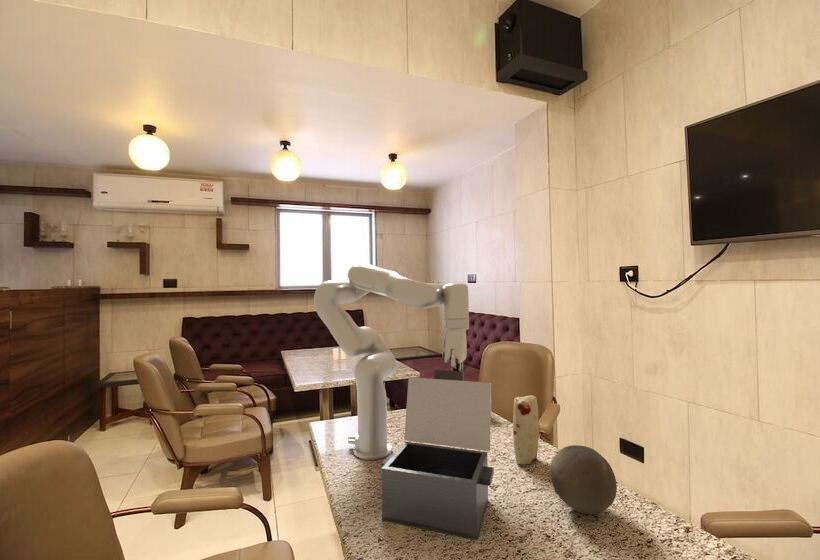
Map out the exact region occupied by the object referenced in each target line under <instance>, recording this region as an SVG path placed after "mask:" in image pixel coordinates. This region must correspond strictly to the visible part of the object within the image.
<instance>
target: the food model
mask: <svg viewBox="0 0 820 560" xmlns="http://www.w3.org/2000/svg"><path fill="white" fill-rule="evenodd" d="M512 413H513V417H512V435H513V436H512V438H513V449H514V456H515V458H514V459H515V461H516V463H517V464H518V465H529V464H532V463H534V462H536V461H537V458H538V449H539V439H540V438H539V437H540V423H539V422H540V421H539V419H540V418H539V407H538V400H537V397H536V396H535V395H531V394H530V395H525V396H515V397H514V398H513V411H512Z"/></svg>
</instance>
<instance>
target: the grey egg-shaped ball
mask: <svg viewBox="0 0 820 560" xmlns="http://www.w3.org/2000/svg"><path fill="white" fill-rule="evenodd" d="M549 471H550V472H549V475H550V481H551V484H552V486H553V488H554V489H553V490H554V491H555V493H556V495H557V496H558V497H559V498H560V499H561V501H562V502H563V503H564V504H565V505H567V506H568V507H569V508H571V509H573V510H574V511H575V512H577V513H581V514H589V515H595V514H596V515H597V514H599V513H603V512H604V511H606V510H607V509H609V508H610V507H611V506H612V505H613V503H614V502H615V499H616V497H617V492H618V491H617V488H618V487H617V486H618V485H617V480H616V476H615V475H616V474H615V473H614V470H613V468H612V466H611V465H610V463H609V462H608V461H607V459H606V458H605V457H603V456H602V454H600V452H598V451H596V449H593V448H591V447H588V446H585V445H579V444H578V445H575V444H574V445H568V446H564V447H563V448H561V449H560V450H559V451H558V452H557V453H556V454H555V455H554V457H553V458H552V460H551V463H550V468H549Z"/></svg>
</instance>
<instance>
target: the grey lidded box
mask: <svg viewBox="0 0 820 560" xmlns="http://www.w3.org/2000/svg"><path fill="white" fill-rule="evenodd" d="M380 468H381V469H380V471H381V520H382V521H383V522H388V523H393V524H397V525H401V526H407V527H411V528H416V529H421V530H427V531H430V532H434V533H435V532H436V533H440V534H445V535H449V536H455V537H460V538H464V539H468V540H472V541H473V540H474V541H478V539H479V537H480V536H479V535H480V532H481V529H482V524H483V521H484V517H485V513H486V509H487V506H488V503H489V487H491V486H492V485H491V484H492V481H493V479H494V475H495V474H494V473H495V472H494V471H495V468H494V467H491V466H489V465H488V451H483V450H475V449H467V448H460V447H452V446H444V445H437V444H429V443H421V442H414V441H404V442H403V444H402V445H401V446H400V447H399V448H398V449H397V450H396V451H395V452H394V453H392V452H391V453H390V454H389V455H388V456H386V457H385V459H384V460H383V461H382V462H381V467H380ZM382 521H381V522H382Z"/></svg>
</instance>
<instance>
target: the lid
mask: <svg viewBox="0 0 820 560" xmlns="http://www.w3.org/2000/svg"><path fill="white" fill-rule="evenodd" d="M433 372H434V376H433V378H429V377H428V378H425V377H412V376H408V381H407V394H406V395H407V396H406V406H405V407H406V409H405V411H406V412H405V423H404V425H405V426H404V437H403V438H404V439H403V440H404V441H406V442H413V443H421V444H429V445H437V446H444V447H452V448H460V449H468V450H475V451H483V452H491V430H492V427H491V422H492V421H491V419H492V383H491V382H485V381H469V380H468V381H467V380H464V375H465V373H464V371H461V372H458V371H452V370H440V369H434V371H433Z"/></svg>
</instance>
